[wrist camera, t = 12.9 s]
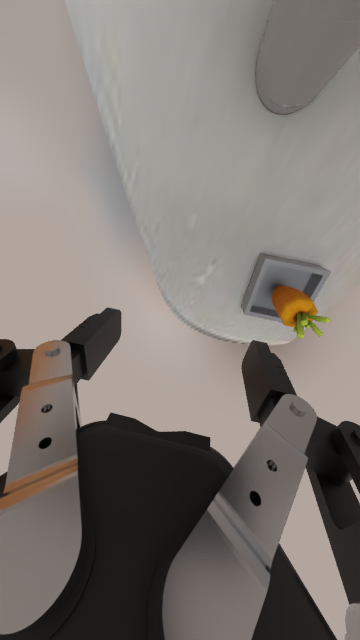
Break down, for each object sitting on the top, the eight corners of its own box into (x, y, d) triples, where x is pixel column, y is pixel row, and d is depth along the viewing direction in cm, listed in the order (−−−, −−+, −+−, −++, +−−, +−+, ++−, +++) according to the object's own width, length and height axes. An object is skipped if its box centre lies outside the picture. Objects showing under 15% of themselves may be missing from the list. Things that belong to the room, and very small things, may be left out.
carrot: (291, 273, 34) (339, 310, 21) (291, 298, 36) (333, 344, 24) (262, 278, 35) (290, 316, 23) (263, 302, 38) (290, 348, 25)
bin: (260, 253, 34) (265, 258, 31) (319, 265, 34) (331, 271, 30) (241, 305, 40) (243, 314, 36) (291, 316, 39) (299, 326, 36)
